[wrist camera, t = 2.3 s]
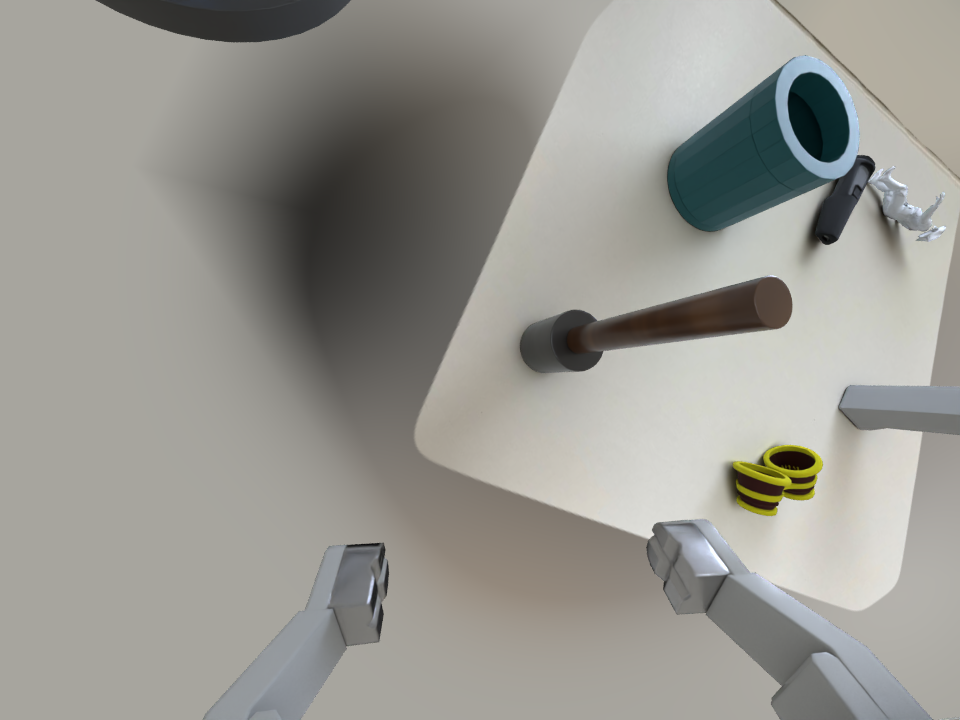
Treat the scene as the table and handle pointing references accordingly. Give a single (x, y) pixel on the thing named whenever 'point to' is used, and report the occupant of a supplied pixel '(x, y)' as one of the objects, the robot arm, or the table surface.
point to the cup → (767, 147)
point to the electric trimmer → (843, 200)
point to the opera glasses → (777, 478)
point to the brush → (656, 325)
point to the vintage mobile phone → (903, 408)
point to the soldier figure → (905, 206)
